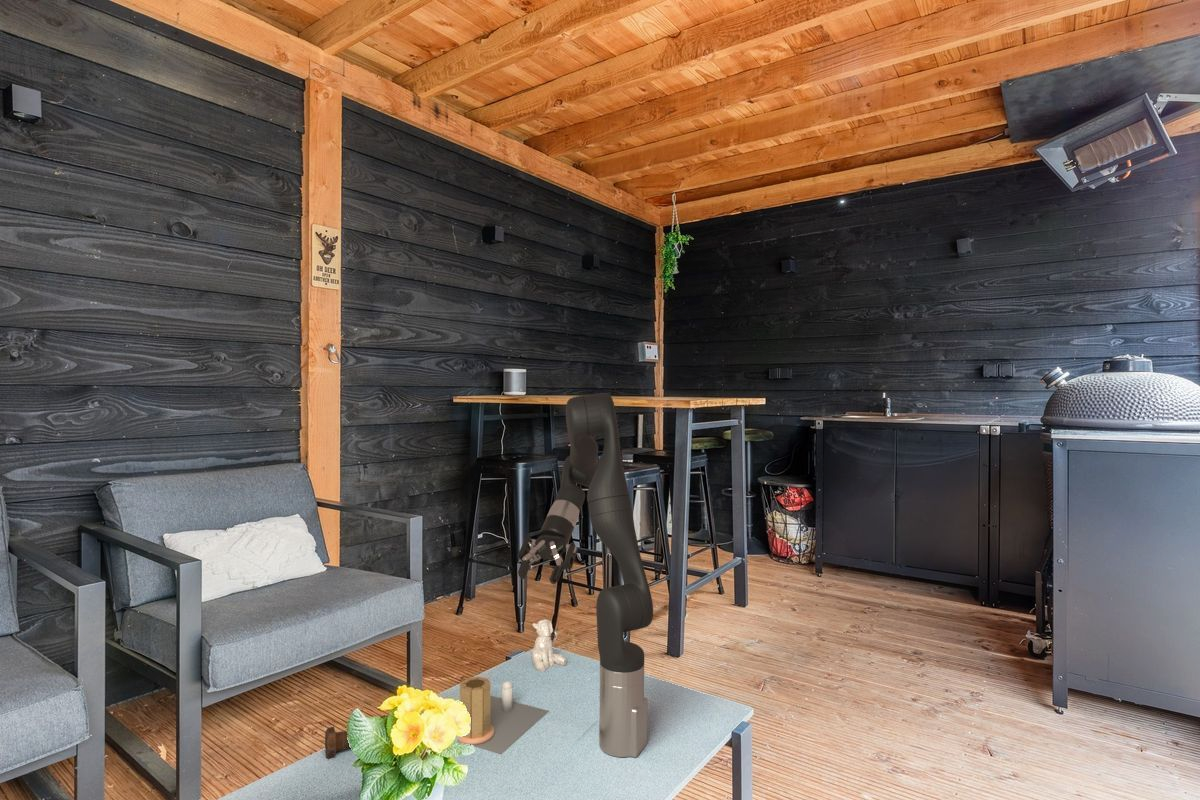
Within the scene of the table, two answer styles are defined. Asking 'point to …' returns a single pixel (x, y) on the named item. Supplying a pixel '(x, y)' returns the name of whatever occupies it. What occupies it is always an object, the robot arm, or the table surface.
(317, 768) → the table surface
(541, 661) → the white creature statuette
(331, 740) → the bolt
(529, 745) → the table surface
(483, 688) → the sleeve
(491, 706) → the rod board
